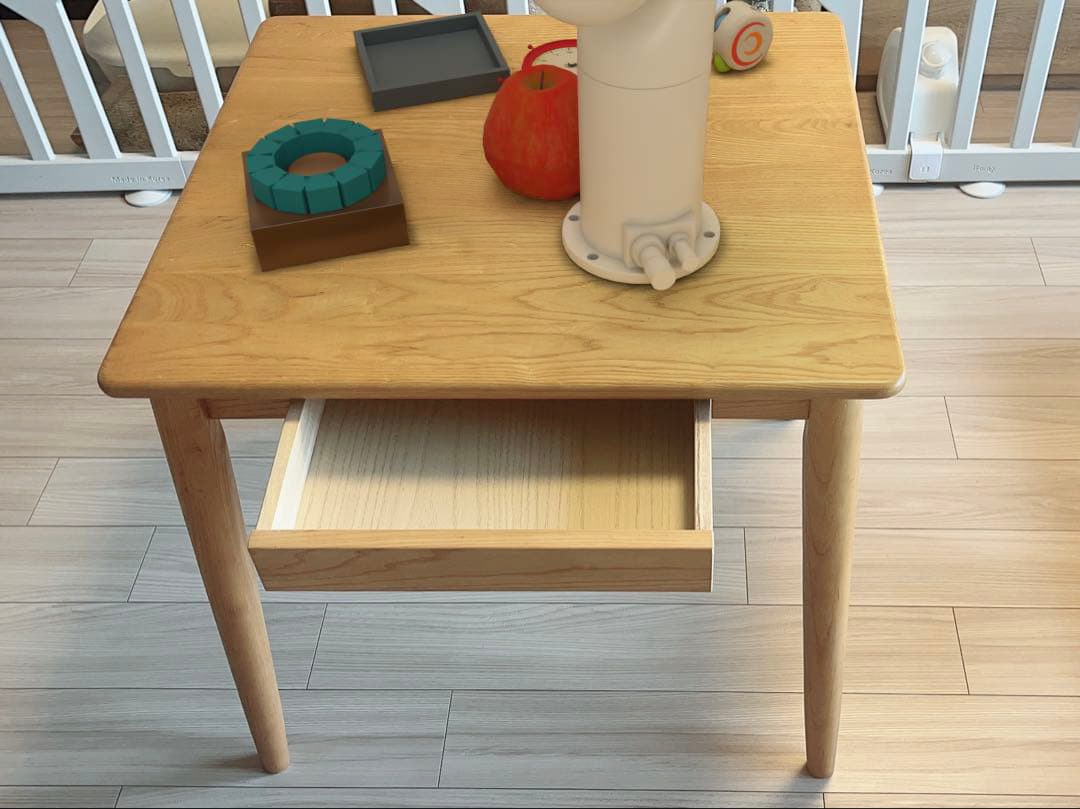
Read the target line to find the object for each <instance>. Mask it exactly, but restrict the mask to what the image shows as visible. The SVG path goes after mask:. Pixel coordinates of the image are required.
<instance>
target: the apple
mask: <svg viewBox="0 0 1080 809" xmlns="http://www.w3.org/2000/svg"><path fill="white" fill-rule="evenodd" d="M482 146H483V147H482V148H483V153H484V157H485V158H484V159H485V160H486V162H487V163H488V165H489V167H490V168H491V170H492V171H493V173H494V174H495V176H496V178H498V180H499V181H500V183H501V184H502V185H503V186H504V187H505V188H506V189H509V190H510V191H512V192H514V193H516V194H519V195H522V196H526V197H530V198H534V199H538V200H539V199H540V200H547V201H562V200H568V199H570V198H572V197H574V196H576V195H579V194H580V160H579V120H578V80H577V75H576V74H575V73H573V72H571V71H569V70H566V69H563V68H560V67H557V66H554V65H546V64H541V65H535V66H531V67H527V68H524V69H522V68H521V69H519V70H517V71H515V72H513V73H511V74H510V76H509V77H508V78H507V79H506V80H505V81H504V83H503V84H502V86H501V87H500V89H499V90H498V91H496V94H495V97H494V98H493V101H492V103H491V106H490V108H489V111H488V113H487V116H486V118H485V121H484V123H483V130H482Z"/></svg>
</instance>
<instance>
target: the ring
mask: <svg viewBox="0 0 1080 809" xmlns="http://www.w3.org/2000/svg"><path fill="white" fill-rule="evenodd" d="M374 130H375V129H371V128H370V127H368V126H367V125H365V124H363V123H361V122H359V121H358V122H356V121H355V120H352V119H351V120H349V119H341V118H331V117H326V119H325V120H324V118H323V117H320V118H314V119H308V120H303V121H297V122H296V121H295V122H293V123H292V125H290V124H287V125H284V126H282V127H280V128H278V129H276V130H274V131H272V132H269V133H267V134H265V135H264V138H263V137H260V138H259V140H258V141H257V142H256V143H255V144H254V145H253V147H252V148H251V149H250V150H248V151H249V152H248V154H247V155H248V156H247V157H246V159H247V167H248V174H249V178H250V182H251V185H252V189H253V193H254V195H255V196H256V198H257V199H258V200H260V201H261V202H263V203H264V204H266V205H267V206H269V207H270V208H272V209H273V210H274V209H276V208H277V210H278V211H282V212H290V213H298V214H307V212H308V211H309V210H310V212H311V214H317V213H323V212H328V211H334V210H339V209H342V204H343V205H345V206H346V207H349V206H350V205H352V204H354V203H356V202H358V201H360V200H362V199H364V198H366V197H367V196H369V195H371V194H372V193H371V191H374V192H375V191H376V189H377V188H378V186H379V185H380V183H381V182H382V181H383V179H384V178H385V176H386V172H387V170H386V164H385V158H384V151H383V147H382V144H381V140H380V137H379V135H378V134H377V133H376V132H375V131H374ZM321 152H327V153H334V154H337V155H340V156H345V157H347V158H348V159H350V160H349V161H348V163H347V164H345V165H343V166H341V167H339V168H337V169H335V170H333V171H331V172H326V173H320V174H314V175H309V176H306V175H297V174H289V173H287V172H285V170H286V168H287V167H288V166H289V165H291V164H292V163H293V162H295V161H296V160H297V159H299V158H301V157H303V156H306V155H309V154H313V153H321Z"/></svg>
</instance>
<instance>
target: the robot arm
mask: <svg viewBox="0 0 1080 809" xmlns="http://www.w3.org/2000/svg"><path fill="white" fill-rule="evenodd" d="M717 1H718V0H532V2H533V3H534V4H535V5H536V6H537V7H538V8H539V9H540V10H542V12H544V13H545V14H547V15H548V16H549V17H551V18H553V19H555V20H556V21H559V22H561V23H563V24H566V25H570V26H575V27H576V39H577V80H578V120H579V160H580V193H579V194H580V196H579V197H580V198H579V199H580V200H579V201H577V202H576V203H574V204H573V205H572V207H571V208H570V209H569V210H568V211H567V213H566V214H565V216H564V218H563V220H562V226H561V240H562V241H561V242H562V245H563V248H564V251H565V253H566V254H567V256H568V257H569V259H570V260H572V261H573V263H574V264H576V265H577V266H578V267H580V268H581V269H582V270H584V271H586V272H588V273H589V274H592V275H594V276H596V277H599V278H601V279H605V280H607V281H612V282H616V283H622V284H630V285H650V284H651V286H652V287H653V289H655V290H657V291H665V290H668V289H670V288H671V287H673V285H675V283H676V281H677V279H678V280H679V279H680V278H683V277H685V276H688V275H690V274H692V273H694V272H696V271H698V270H699V269H701V268H703V267H704V266H705V265H706V264H707V263H708V262H710V261H711V260H712V258H713V257H714V256H715V254H716V253H717V252H718V248H719V245H720V241H721V240H720V239H721V238H720V237H721V224H720V223H721V222H720V220H719V218H718V215H717V214H716V212H715V210H713V208H712V207H711V206H710V205H709V204H708V203H707V202H705V201H704V200H703V198H704V184H705V183H704V182H705V167H706V151H707V134H708V120H709V105H710V88H711V71H712V70H711V69H712V61H713V55H712V51H713V37H714V23H715V13H716V10H717Z"/></svg>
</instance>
